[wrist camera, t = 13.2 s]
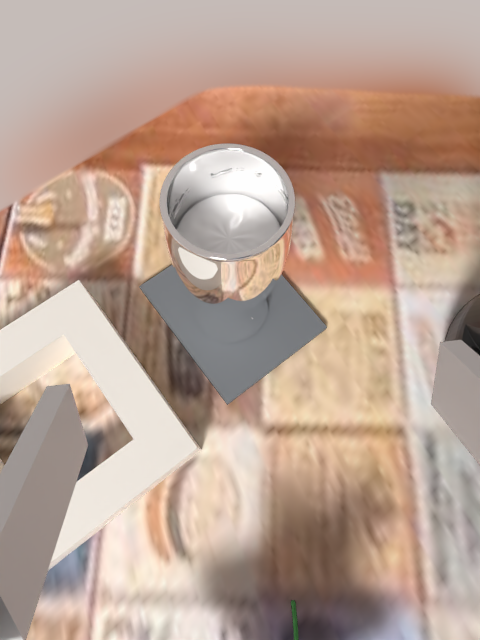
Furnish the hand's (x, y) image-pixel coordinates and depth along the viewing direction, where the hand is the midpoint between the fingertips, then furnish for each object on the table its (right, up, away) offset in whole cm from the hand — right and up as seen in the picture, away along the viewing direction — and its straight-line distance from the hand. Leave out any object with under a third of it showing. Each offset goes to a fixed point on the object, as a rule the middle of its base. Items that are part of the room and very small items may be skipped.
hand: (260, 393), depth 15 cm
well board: (-14, -6, +17) cm, 23 cm away
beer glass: (-1, +4, +20) cm, 20 cm away
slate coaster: (-1, +4, +20) cm, 20 cm away
